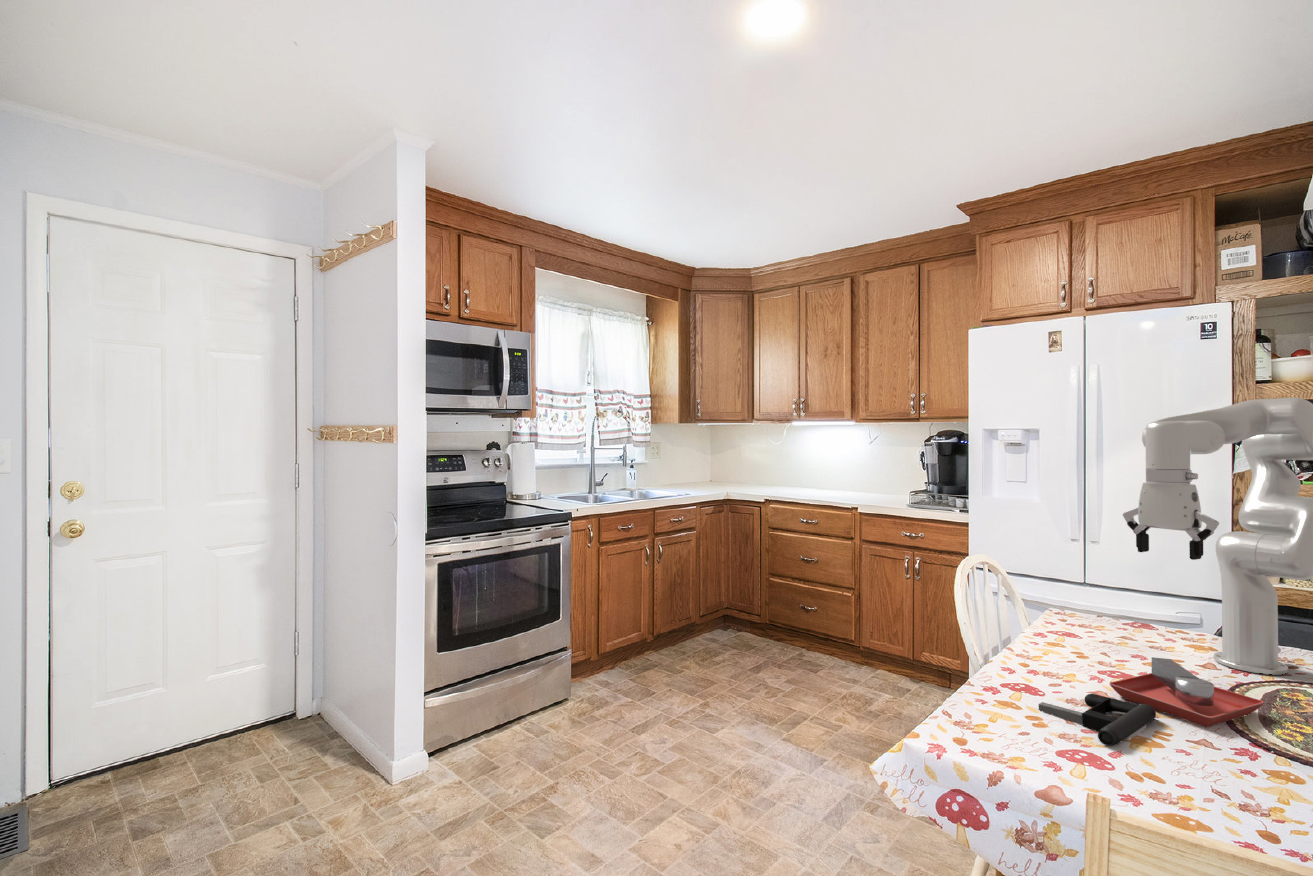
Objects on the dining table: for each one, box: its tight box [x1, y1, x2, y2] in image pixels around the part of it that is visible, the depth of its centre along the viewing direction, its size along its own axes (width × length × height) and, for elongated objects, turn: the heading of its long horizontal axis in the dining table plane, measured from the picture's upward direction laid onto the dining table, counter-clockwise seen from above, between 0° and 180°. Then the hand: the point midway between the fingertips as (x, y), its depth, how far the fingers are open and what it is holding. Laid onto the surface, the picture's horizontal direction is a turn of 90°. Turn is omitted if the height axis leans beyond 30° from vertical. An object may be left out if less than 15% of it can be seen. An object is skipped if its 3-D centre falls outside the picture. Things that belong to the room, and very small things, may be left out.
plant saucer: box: [1108, 672, 1265, 728], centre depth 122 cm, size 18×18×3 cm
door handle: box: [1038, 693, 1160, 747], centre depth 116 cm, size 3×20×16 cm
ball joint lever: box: [1151, 657, 1215, 706], centre depth 123 cm, size 16×6×4 cm, turn 162°
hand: (1168, 555), depth 133 cm, fingers open, 9 cm apart
